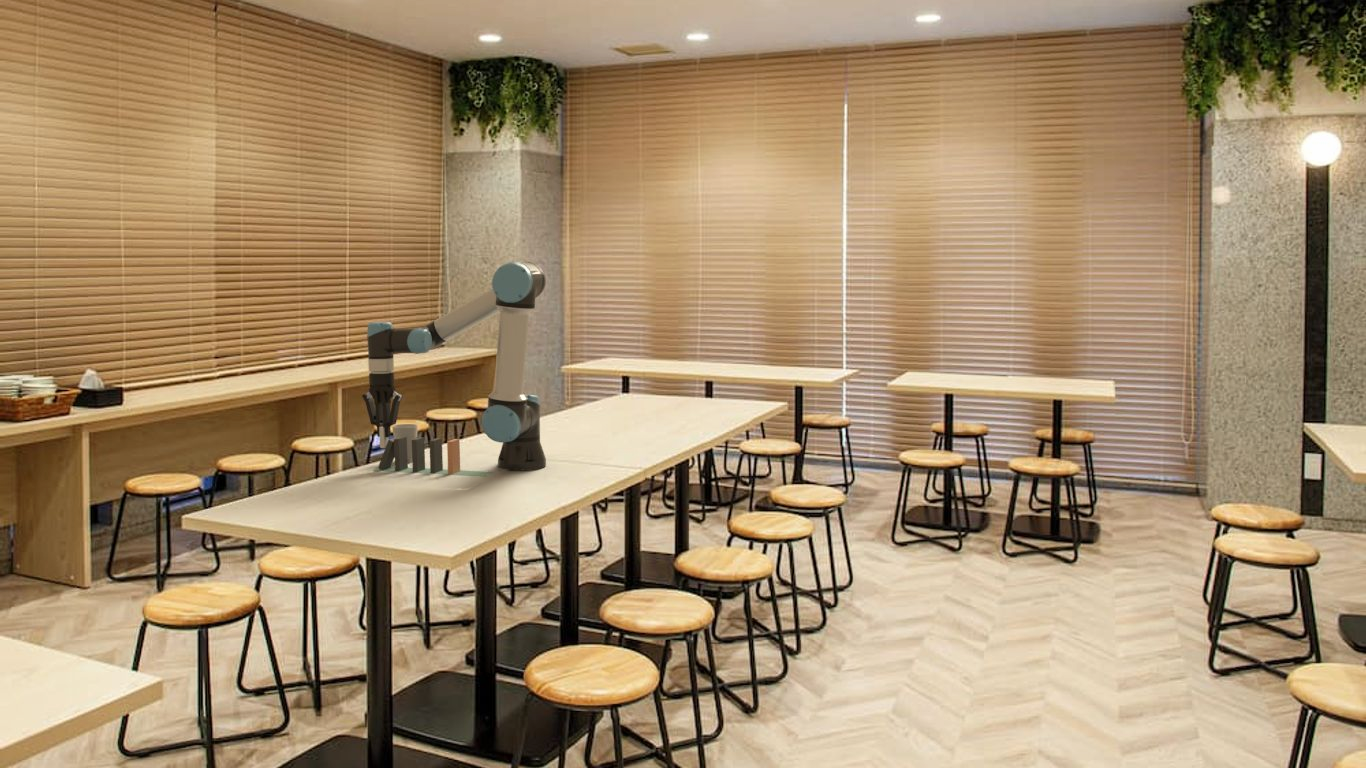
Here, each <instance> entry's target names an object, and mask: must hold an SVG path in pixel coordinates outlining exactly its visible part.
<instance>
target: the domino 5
mask: <svg viewBox="0 0 1366 768" xmlns="http://www.w3.org/2000/svg"><path fill="white" fill-rule="evenodd" d="M446 444H447V446H446V447H447V449H446V450H447V451H446V452H447V470H448V474H454V473H457V472H459V471H460V470H461V451H460V450H461V449H460V438H453V439H450V440H447V442H446Z"/></svg>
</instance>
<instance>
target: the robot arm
mask: <svg viewBox="0 0 1366 768" xmlns="http://www.w3.org/2000/svg"><path fill="white" fill-rule="evenodd" d="M491 280H492V281H491V287H492V288H490V289H489V290H487V291H485V292H483V293H481V294H480V295H478V296H475V297H474V298H472V299H470V300H469V301H467V302H465V303H463V304H462V305H460V306H458V307H456V308H454V309H453V310H451V311H449V312H447V313H445V314H444V315H442V316H440V317H439V318H436V319H434V320H433V321H431V322H429V323H428V324H426V325H423V326H418V327H412V328H394V327H393V323H392V322H390V321H375V322H374V321H373V322H369V323H368V324H367V329H366V330H367V333H366V334H367V336H366V338H367V352H368V355H367V358H368V359H367V361H368V363H367V365H368V372H370V373H369V374H368V381H369V382H368V383H369V388H368V391H367V392H366V393H363V394H362V395H361V397H362V399H363V401H364V402H365V405H366V411H367V414H368V418H369V422H370V424H371V425H373V426H376V433H377V434H376V436H377V437H378V438H379V448H380V449H385V448H386V445H387V443H388V440H389V439H390V437H391V435H392V434H391V427H392V426H394V425H397V420H398V414H399V409H400V404H401V401H402V399H403V397H404V396H403V394H401V393H398V392H397V390H396V388H395V373H394V372H393V371H394V370H395V365H394V363H395V362H394V354H416V355H419V354H427V353H429V352H430V351H433V350H436V349H438V348H440V347H441V346H442V345H444V344H445V343H446V342H447V341H449V340H451V339H453V338H455V337H457V336H459V335H460V334H462V333H464V332H466V331H468V330H470V329H471V328H473V327H474V326H476V325H478V324H480V323H482V322H483V321H486V320H488V319H489V318H491V317H494V316H495V315H497V314H499V323H498V324H499V325H498V338H497V347H496V349H497V350H496V360H495V361H496V362H495V374H494V386H493V387H494V388H493V390H492V392H491V393H490V394H488V399H487V408H486V409H485V411H484V412H483V414H482V417H481V427H482V430H483V433H484V434H485V435H486V436H487V437H488V438H489V439H490V440H492V441H494V442H497V443H502V446H501V449H500V451H499V455H498V457H497V467H498V468H500V469H503V470H507V471H531V470H539V469H542V468H545V467H546V466H547V458H546V455H545V452H544V449H543V446H542V444H541V424H540V422H541V421H540V420H541V418H540V417H541V416H540V414H541V412H540V410H541V409H540V407H541V405H540V397H539V396H538V395H536V394H524V378H525V371H526V370H525V368H526V367H525V366H526V355H527V343H528V333H529V332H528V330H529V318H530V314H531V313H532V312H533V311H534V310H536V309H535V307H536V298H538V297H539V296H540V295H541V294H542V293H543V291H544V290H545V288H546V281H547V280H546V275H545V273H544V271H543V269H542V268H541V267H540V266H539V265H537V264H536V263H534V262H530V261H510V262H508V263H503V264H502V265H500V266H499V267H498V268H497V270H495V272H494V274H493V275H492V279H491ZM392 400H393V401H392Z"/></svg>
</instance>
